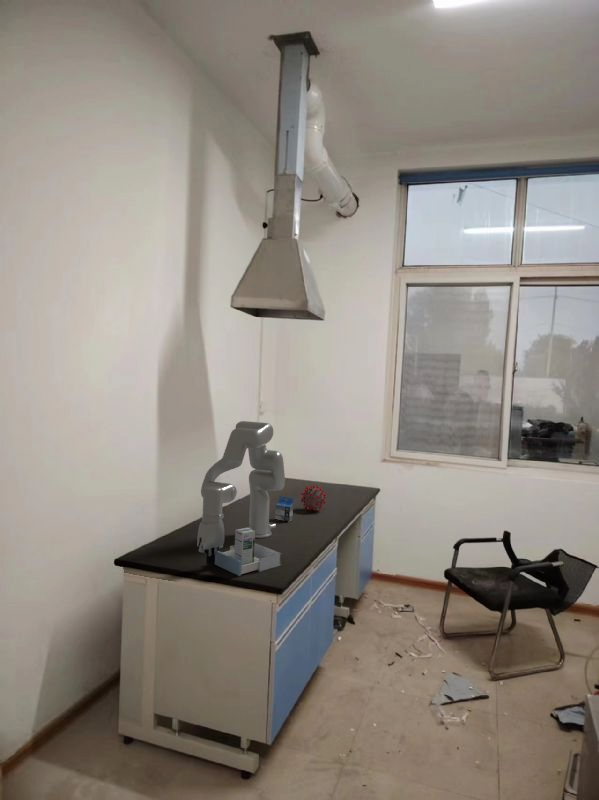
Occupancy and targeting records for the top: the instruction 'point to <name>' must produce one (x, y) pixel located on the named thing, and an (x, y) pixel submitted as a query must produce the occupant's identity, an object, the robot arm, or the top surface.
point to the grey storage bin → (265, 557)
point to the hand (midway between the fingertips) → (210, 564)
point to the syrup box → (244, 545)
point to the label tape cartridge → (284, 509)
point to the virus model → (313, 498)
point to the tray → (234, 563)
